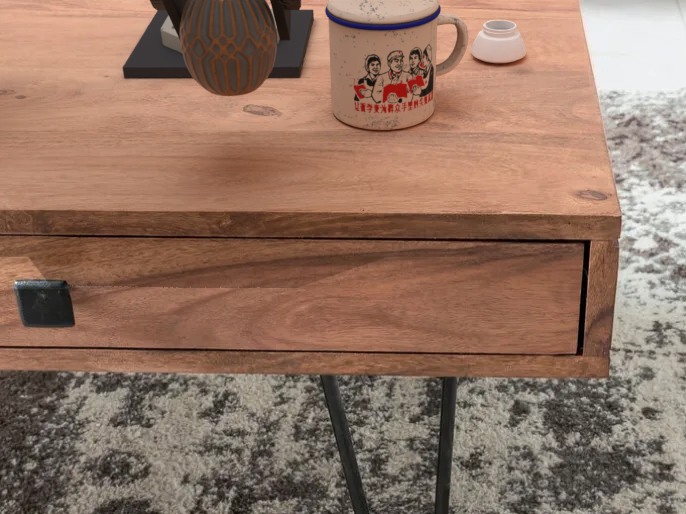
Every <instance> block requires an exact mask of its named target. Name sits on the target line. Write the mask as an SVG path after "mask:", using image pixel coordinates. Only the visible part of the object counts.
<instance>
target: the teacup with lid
mask: <svg viewBox="0 0 686 514" xmlns="http://www.w3.org/2000/svg"><path fill="white" fill-rule="evenodd" d="M441 10H442V8H441V5H440V1H439V0H327V2H326V5H325V8H324V12H325V16H326V17H327V18H328V38H329V39H328V41H329V44H328V45H329V64H330V65H329V72H330V97H331V100H330V101H331V102H330V103H331V111H332V113H333V115H334V116H335V117H336V118H337V119H338V120H339V121H341V122H343V123H344V124H346V125H349V126H351V127H355V128H360V129H365V130H371V131H372V130H373V131H390V130H391V131H392V130H400V129H405V128H410V127H413V126H416V125H419V124H421V123H423V122H425V121H426V120H428V119H429V118H431V116H432V114H434V111H435V109H436V88H437V87H436V85H437V84H436V82H437V81H436V80H437V77H440V76H444V75H446V74H448V73H450V72H452V71H453V70H454V69H455V68H457V66H458V65H460V63H461V61H462V59H463V58H464V56H465V54H466V51H467V48H468V44H469V29H468V26H467V24H466V22H464V21H463V19H461V18H460V17H459V16H458V15H456V14H452V13H450V12H449V13H448V12H442V13H441ZM443 25H454V26H455V28H456V41H455V44H454V47H453V49H452V51H451V53H450V55H448V57H447V58H446V59H444V61H442V62H440V63H437V48H438V47H437V45H438V44H437V43H438V26H443Z"/></svg>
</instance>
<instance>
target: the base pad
mask: <svg viewBox="0 0 686 514" xmlns="http://www.w3.org/2000/svg"><path fill="white" fill-rule="evenodd" d="M270 9H271V12H272V15H273V18H274V14H273V10H272V8H270ZM314 15H315V13H314V9H299V10H291V32H290V40H280V38H279V34H278V30H277V26H276V32H277V52H276V58H275V62H274V66H273V68H272V71H271V73H270V74H269V76H268V78H300V77H301V74H302V69H303V65H304V62H305V58H306V53H307V48H308V46H309V45H308V44H309V41H310V36H311V32H312V27H313V24H314V19H315V16H314ZM274 21H275V18H274ZM275 25H276V22H275ZM122 73H123V78H124V79H147V78H148V79H153V78H154V79H163V78H164V79H168V78H169V79H177V78H178V79H180V78H181V79H182V78H183V79H185V78H187V79H188V78H189V79H191V78H193V77H192V75H191V74H190V72H189V70H188V68H187V66H186V63H185V61H184V58H183V54H182V50H181V43H180V39H179V37H178V35H177V33H176V30H175V28H174V26H173V24H172V22H171V20H170V17H169V15H168V13H167V11H157V10H156V12H155V14H154V16H153V17H152V19H151V21H150V22H149V24H148V25H147V26H146V28H145V30H144V31H143V33H142V34H141V37H140V38H139V40H138V42H137V43H136V44H135V46H134V48H133V49H132V51H131V53H130V55H129V56H128V58H127V59H126V61H125V63H124V64H123V66H122ZM193 79H194V78H193Z"/></svg>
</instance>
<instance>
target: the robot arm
mask: <svg viewBox="0 0 686 514" xmlns="http://www.w3.org/2000/svg"><path fill="white" fill-rule="evenodd" d="M186 1H187V0H149V3H150V4H151V6H152V8H153V9H155V10H156V12H157V11H167V13H168V15H169V17H170V20H171V22H172V24H173V26H174V28H175V30H176V33H177V35H178V37H179V39H180V22H181V16H182V12H183V9H184V6H185V4H186ZM269 1H270V6H271V9H272V10H273V14H274V18H275V22H276V26H277V30H278V34H279V38H280V40H290V32H291V10H301V7H302V0H269Z"/></svg>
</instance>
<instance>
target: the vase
mask: <svg viewBox="0 0 686 514" xmlns="http://www.w3.org/2000/svg"><path fill="white" fill-rule="evenodd" d="M271 9H272V8H271V7H270V5H269V3H268V1H267V0H187V1H186V4H185V6H184V9H183V12H182V16H181V22H180V43H181V50H182V54H183V58H184V61H185V63H186V66H187V68H188V70H189V72H190V74H191V75H192V77H193V79H194V81H195V82H196V83H197V84H198V85H199V86H200V87H202V88H203V89H204V90H206V91H207V92H208V93H210V94H213V95H216V96H221V97H238V96H244V95H247V94H251V93H253V92H255V91H257V90H258V89H259V88H260V87H261V86H262V85H263V84H264V83H265V82H266V80H267V79H268V78H269V77H268V76H269V74H270V73H271V71H272V68H273V66H274V62H275V58H276V52H277V32H276V25H275V21H274V18H273V15H272V12H271Z"/></svg>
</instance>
